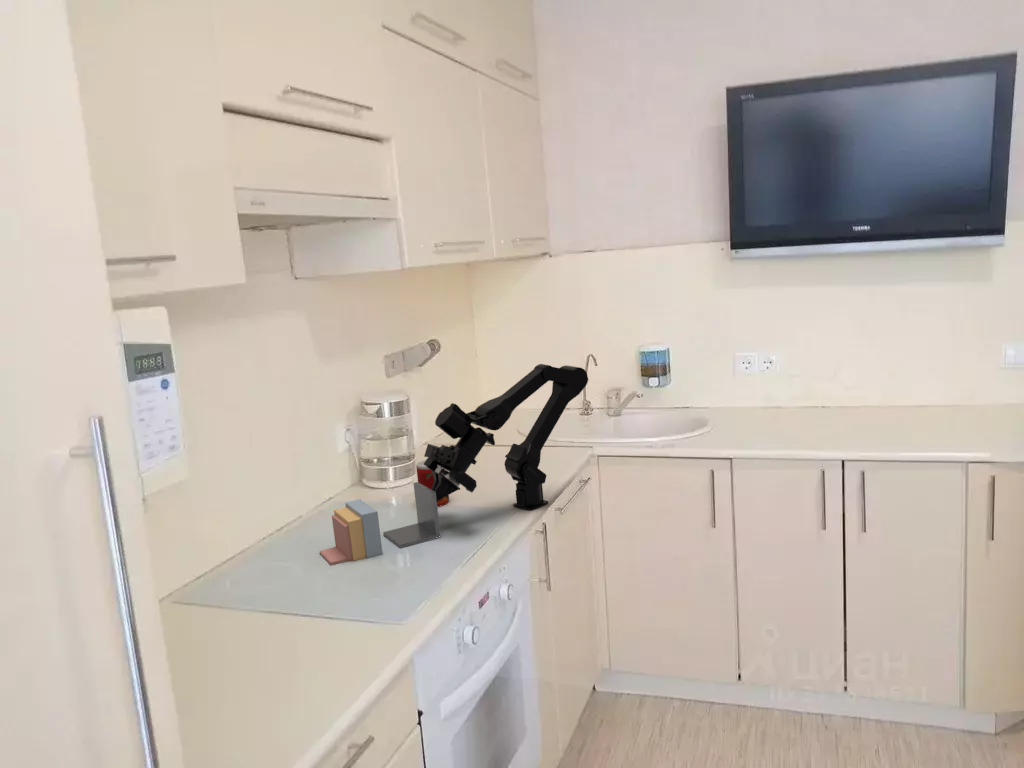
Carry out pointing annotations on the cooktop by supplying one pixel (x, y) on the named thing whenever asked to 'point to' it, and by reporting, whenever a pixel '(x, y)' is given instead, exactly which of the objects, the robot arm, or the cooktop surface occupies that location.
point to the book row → (354, 533)
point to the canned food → (428, 480)
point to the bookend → (419, 520)
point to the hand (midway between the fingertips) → (429, 503)
